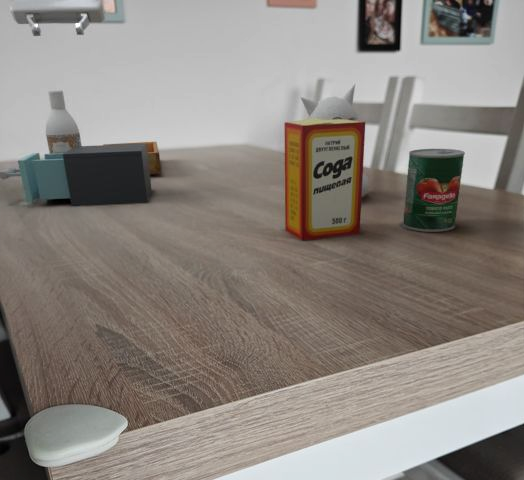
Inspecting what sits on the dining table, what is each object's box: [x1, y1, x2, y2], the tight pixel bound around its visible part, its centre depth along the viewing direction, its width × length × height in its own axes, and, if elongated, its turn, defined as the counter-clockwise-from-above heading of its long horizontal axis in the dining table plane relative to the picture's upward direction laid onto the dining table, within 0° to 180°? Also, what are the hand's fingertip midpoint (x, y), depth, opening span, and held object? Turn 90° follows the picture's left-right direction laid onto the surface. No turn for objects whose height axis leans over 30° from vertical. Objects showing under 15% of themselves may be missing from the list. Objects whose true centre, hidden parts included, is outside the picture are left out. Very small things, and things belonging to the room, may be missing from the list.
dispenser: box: [63, 144, 152, 207], centre depth 112 cm, size 15×13×10 cm
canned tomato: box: [402, 148, 466, 233], centre depth 84 cm, size 8×8×11 cm
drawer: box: [0, 152, 70, 204], centre depth 111 cm, size 18×11×8 cm, turn 96°
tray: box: [102, 141, 162, 175], centre depth 147 cm, size 31×15×6 cm, turn 11°
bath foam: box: [45, 90, 83, 154], centre depth 121 cm, size 7×7×20 cm
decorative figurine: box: [300, 83, 371, 198], centre depth 103 cm, size 15×15×20 cm
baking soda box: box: [284, 118, 366, 241], centre depth 81 cm, size 10×6×16 cm
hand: (57, 33), depth 122 cm, fingers open, 8 cm apart
